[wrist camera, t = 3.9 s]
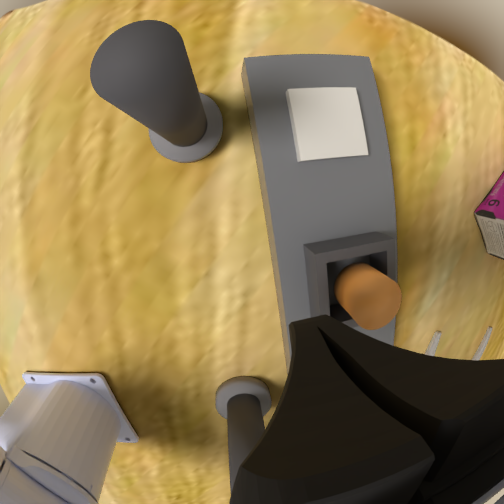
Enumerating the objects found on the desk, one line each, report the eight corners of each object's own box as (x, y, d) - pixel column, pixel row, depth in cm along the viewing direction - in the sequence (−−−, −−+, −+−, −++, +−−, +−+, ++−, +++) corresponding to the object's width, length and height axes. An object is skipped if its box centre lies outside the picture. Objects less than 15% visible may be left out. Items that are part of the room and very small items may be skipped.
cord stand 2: (222, 416, 20) (226, 526, 10) (210, 380, 19) (206, 502, 9) (272, 408, 20) (296, 516, 10) (265, 371, 19) (293, 491, 9)
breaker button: (334, 312, 14) (353, 335, 11) (332, 267, 13) (352, 284, 11) (376, 301, 14) (400, 321, 11) (376, 257, 13) (402, 272, 11)
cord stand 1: (158, 169, 15) (68, 158, 6) (149, 104, 14) (66, 28, 5) (228, 155, 15) (231, 115, 6) (217, 90, 14) (209, -15, 5)
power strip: (292, 411, 20) (304, 452, 16) (241, 74, 14) (246, 40, 10) (372, 389, 21) (395, 423, 16) (351, 70, 15) (385, 44, 10)
